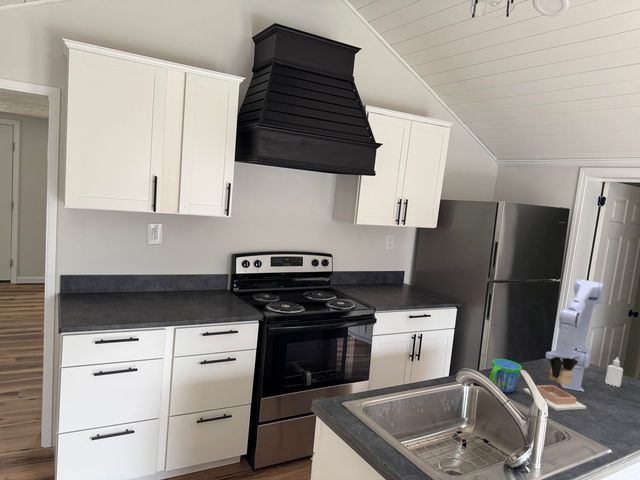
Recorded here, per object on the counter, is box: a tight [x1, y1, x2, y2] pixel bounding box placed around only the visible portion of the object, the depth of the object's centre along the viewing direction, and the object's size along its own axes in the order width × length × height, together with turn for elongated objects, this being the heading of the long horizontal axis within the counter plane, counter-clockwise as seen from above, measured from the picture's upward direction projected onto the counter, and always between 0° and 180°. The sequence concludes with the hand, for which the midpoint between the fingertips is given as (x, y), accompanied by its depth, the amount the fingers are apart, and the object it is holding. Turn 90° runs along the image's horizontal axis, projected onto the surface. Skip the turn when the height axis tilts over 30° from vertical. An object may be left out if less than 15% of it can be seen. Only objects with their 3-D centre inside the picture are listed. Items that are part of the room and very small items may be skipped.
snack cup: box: [488, 358, 523, 393], centre depth 176 cm, size 16×10×10 cm
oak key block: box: [548, 367, 572, 386], centre depth 171 cm, size 6×4×5 cm, turn 16°
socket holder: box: [523, 384, 587, 411], centre depth 172 cm, size 16×14×3 cm
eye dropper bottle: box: [604, 357, 624, 388], centre depth 194 cm, size 4×6×12 cm
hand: (560, 376), depth 171 cm, fingers closed on oak key block, 4 cm apart
